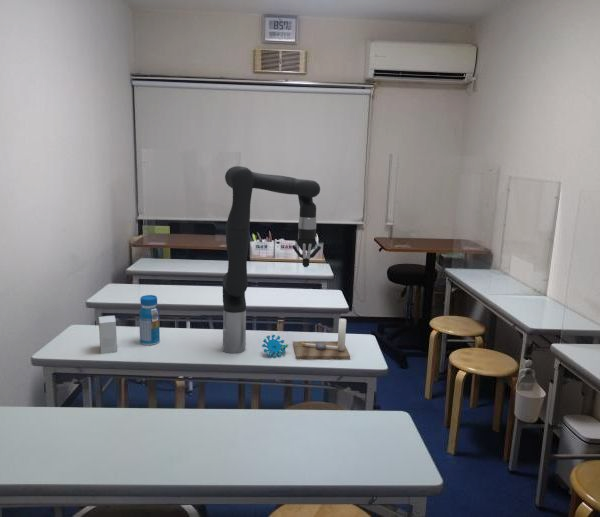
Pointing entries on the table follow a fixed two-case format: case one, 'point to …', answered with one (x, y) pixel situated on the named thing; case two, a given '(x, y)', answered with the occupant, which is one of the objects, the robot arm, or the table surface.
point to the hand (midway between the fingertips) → (305, 266)
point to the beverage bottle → (149, 320)
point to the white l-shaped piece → (340, 339)
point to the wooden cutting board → (318, 351)
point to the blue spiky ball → (274, 346)
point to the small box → (107, 334)
